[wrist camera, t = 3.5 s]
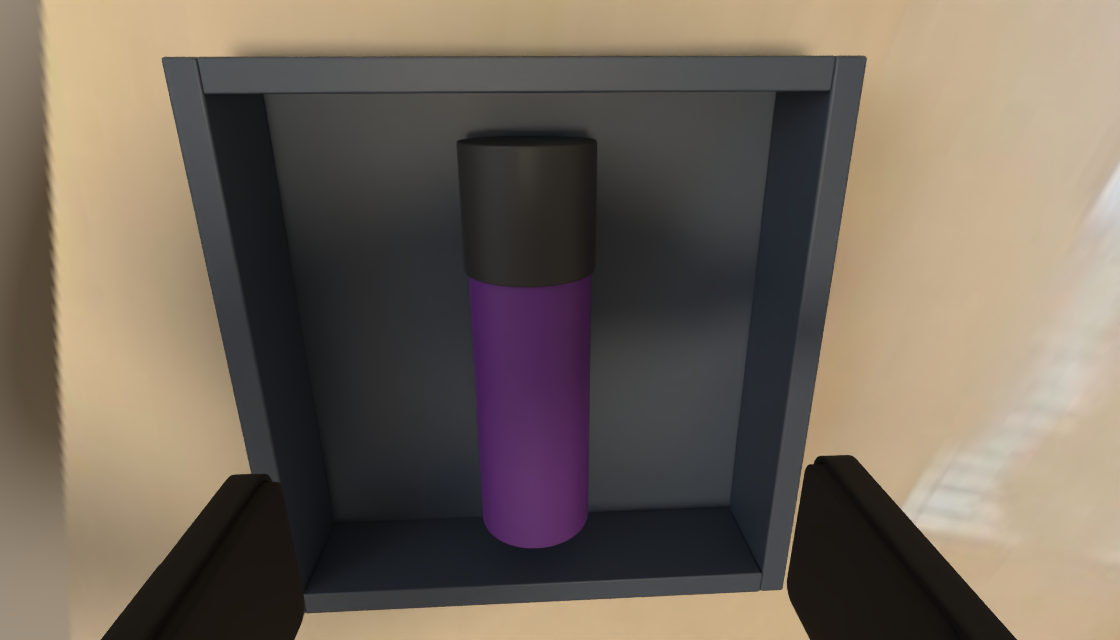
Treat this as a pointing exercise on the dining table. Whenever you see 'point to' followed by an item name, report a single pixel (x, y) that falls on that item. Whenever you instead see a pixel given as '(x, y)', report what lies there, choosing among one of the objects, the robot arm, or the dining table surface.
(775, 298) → the bin
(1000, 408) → the dining table surface
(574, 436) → the marker
